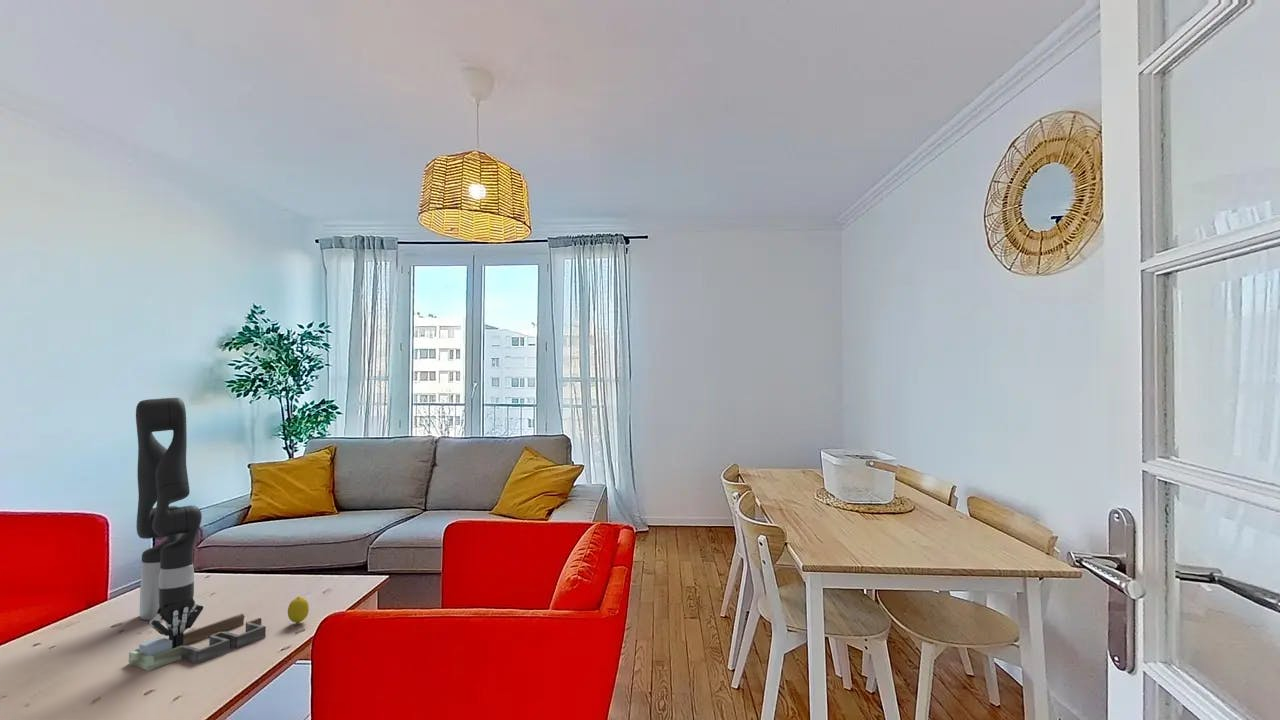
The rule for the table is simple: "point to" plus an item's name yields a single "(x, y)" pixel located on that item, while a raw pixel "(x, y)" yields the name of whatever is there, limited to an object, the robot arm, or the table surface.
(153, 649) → the block
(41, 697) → the table surface
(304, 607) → the lemon
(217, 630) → the trap box
